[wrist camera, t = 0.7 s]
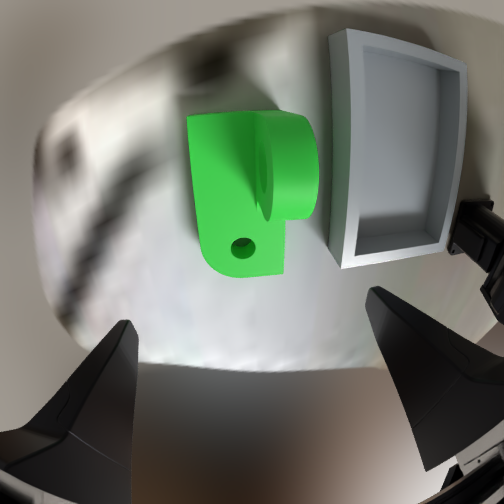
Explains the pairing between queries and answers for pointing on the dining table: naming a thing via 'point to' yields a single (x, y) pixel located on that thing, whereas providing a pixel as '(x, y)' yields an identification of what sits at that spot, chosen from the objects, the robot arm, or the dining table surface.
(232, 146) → the mechanical part
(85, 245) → the dining table surface
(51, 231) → the dining table surface
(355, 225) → the parts tray
